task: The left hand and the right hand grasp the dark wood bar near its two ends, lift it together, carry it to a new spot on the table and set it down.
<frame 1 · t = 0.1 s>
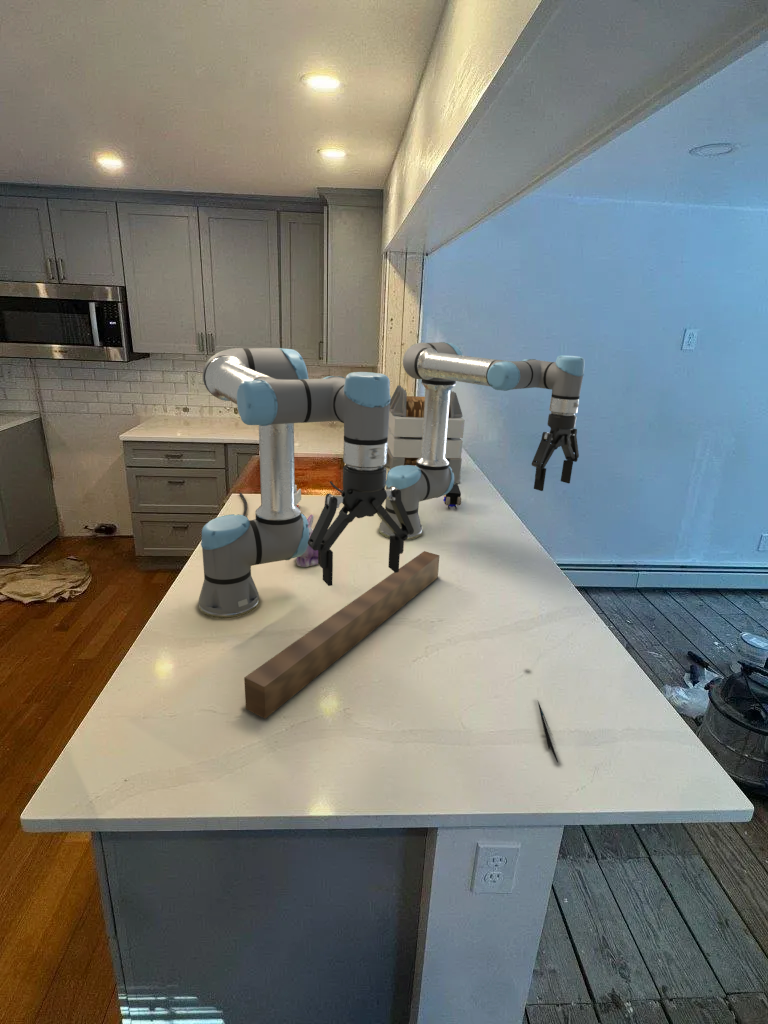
left hand: (361, 576, 105), 28 cm above the counter, tool pointing down, fingers open, 13 cm apart
right hand: (552, 486, 166), 28 cm above the counter, tool pointing down, fingers open, 13 cm apart
figurine character: (451, 505, 231), on the counter
feather: (540, 713, 113), on the counter
bar: (361, 629, 140), on the counter
figurine: (309, 561, 175), on the counter
fossil: (360, 455, 304), on the counter
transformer: (419, 473, 275), on the counter
toy: (282, 516, 211), on the counter
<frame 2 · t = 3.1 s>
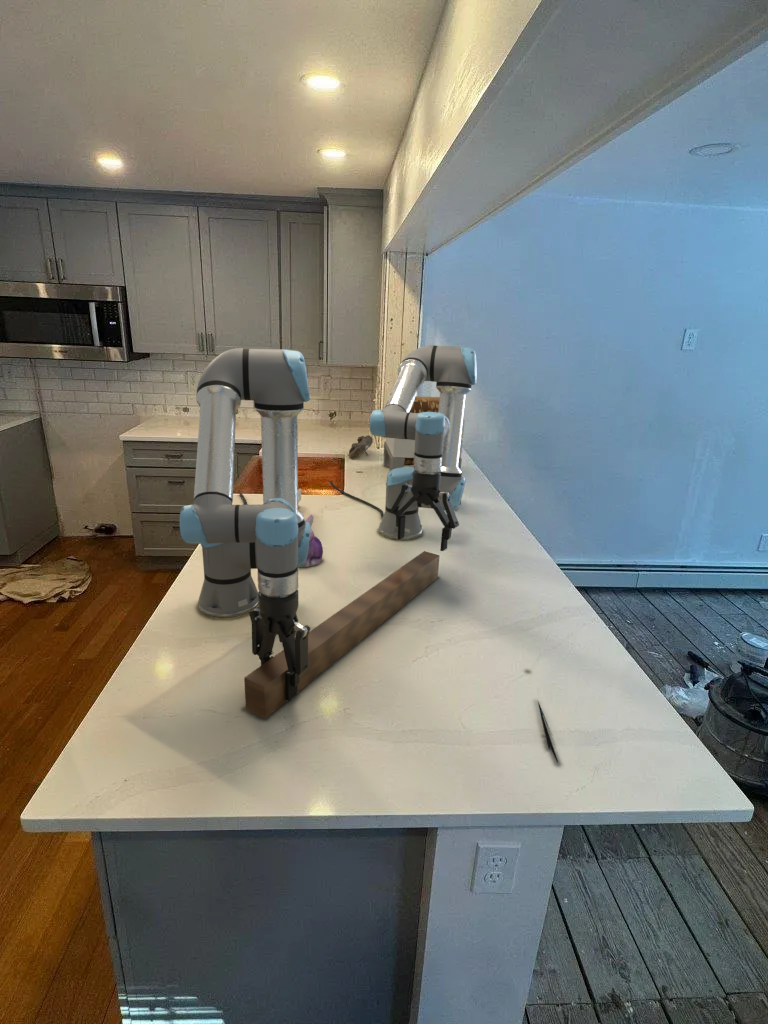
left hand: (280, 691, 115), 1 cm above the counter, tool pointing down, fingers closed on bar, 5 cm apart
right hand: (421, 543, 159), 13 cm above the counter, tool pointing down, fingers open, 13 cm apart
bar: (361, 629, 140), on the counter, touching left hand
everything else where it was.
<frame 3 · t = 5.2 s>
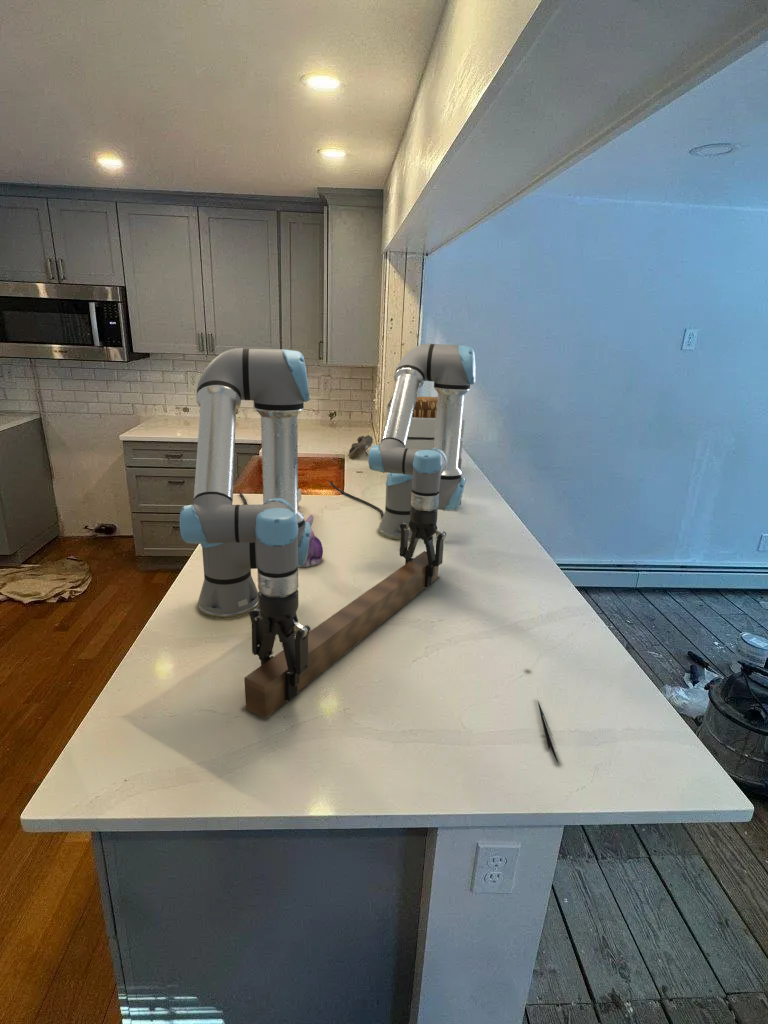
left hand: (280, 691, 115), 1 cm above the counter, tool pointing down, fingers closed on bar, 5 cm apart
right hand: (418, 582, 164), 1 cm above the counter, tool pointing down, fingers closed on bar, 5 cm apart
bar: (361, 629, 140), on the counter, touching right hand, left hand
everything else where it was.
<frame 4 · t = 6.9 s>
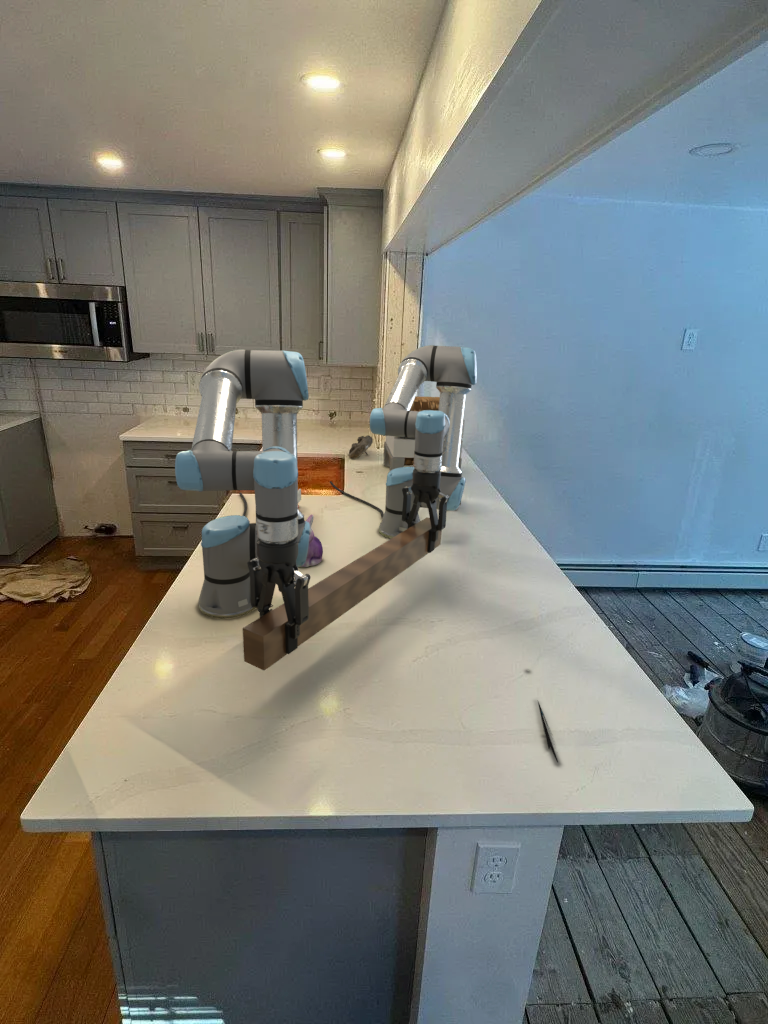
left hand: (280, 645, 112), 11 cm above the counter, tool pointing down, fingers closed on bar, 5 cm apart
right hand: (421, 548, 160), 11 cm above the counter, tool pointing down, fingers closed on bar, 5 cm apart
bar: (363, 590, 136), point 11 cm above the counter, touching right hand, left hand
everything else where it was.
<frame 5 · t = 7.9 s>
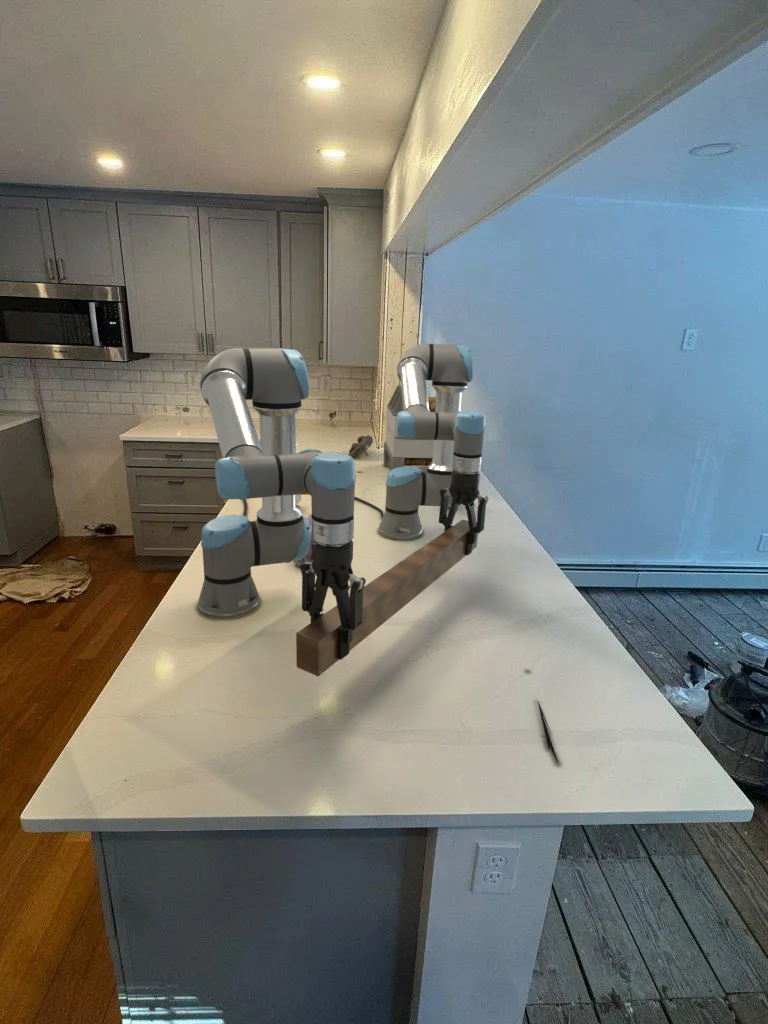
left hand: (331, 650, 110), 12 cm above the counter, tool pointing down, fingers closed on bar, 5 cm apart
right hand: (458, 550, 158), 12 cm above the counter, tool pointing down, fingers closed on bar, 5 cm apart
bar: (406, 594, 134), point 11 cm above the counter, touching right hand, left hand
everything else where it was.
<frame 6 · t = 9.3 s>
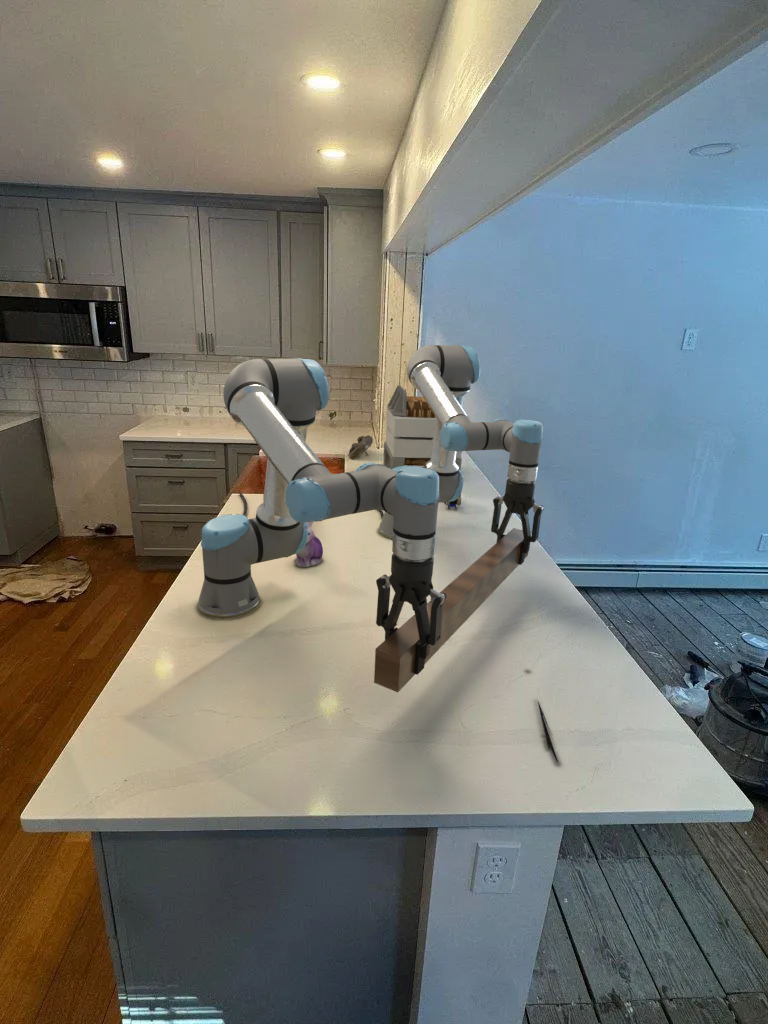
left hand: (405, 665, 109), 11 cm above the counter, tool pointing down, fingers closed on bar, 5 cm apart
right hand: (510, 559, 157), 11 cm above the counter, tool pointing down, fingers closed on bar, 5 cm apart
bar: (467, 605, 133), point 10 cm above the counter, touching right hand, left hand
everything else where it was.
when the left hand's fingers open (2 cm above the counter, at t = 10.5 s): bar drops 1 cm, on the counter.
when the right hand's fingers open (2 cm above the counter, at t = 10.5 s): bar drops 1 cm, on the counter.
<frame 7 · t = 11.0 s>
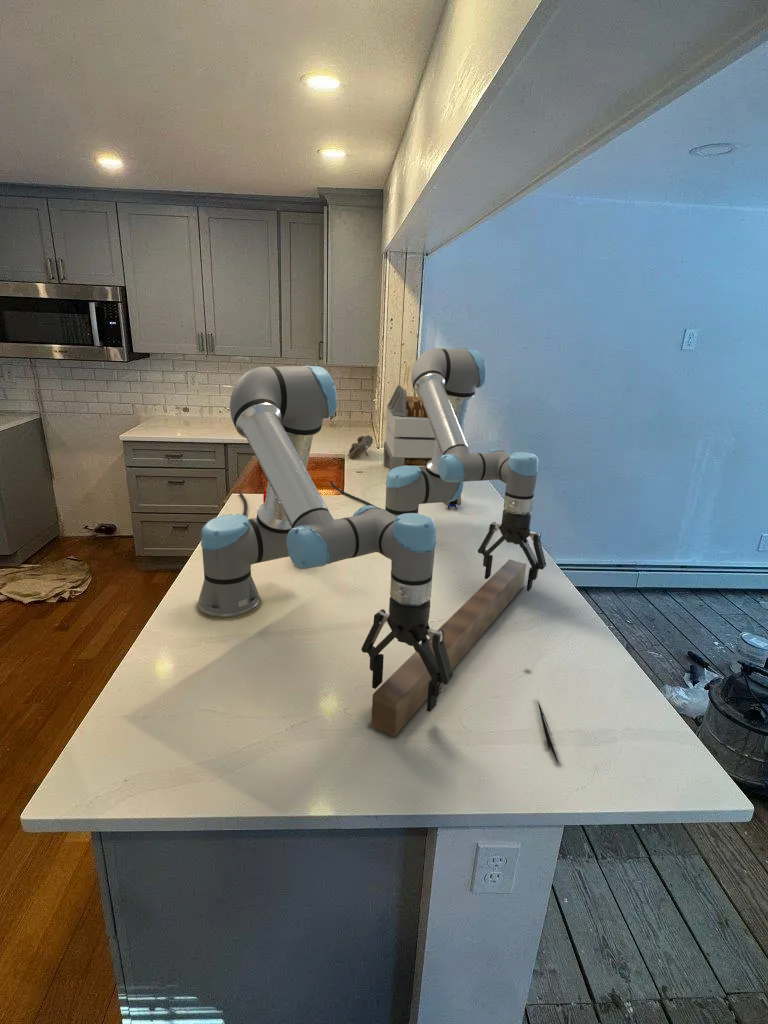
left hand: (403, 696, 111), 3 cm above the counter, tool pointing down, fingers open, 11 cm apart
right hand: (507, 583, 160), 3 cm above the counter, tool pointing down, fingers open, 11 cm apart
bar: (463, 641, 137), on the counter
everything else where it was.
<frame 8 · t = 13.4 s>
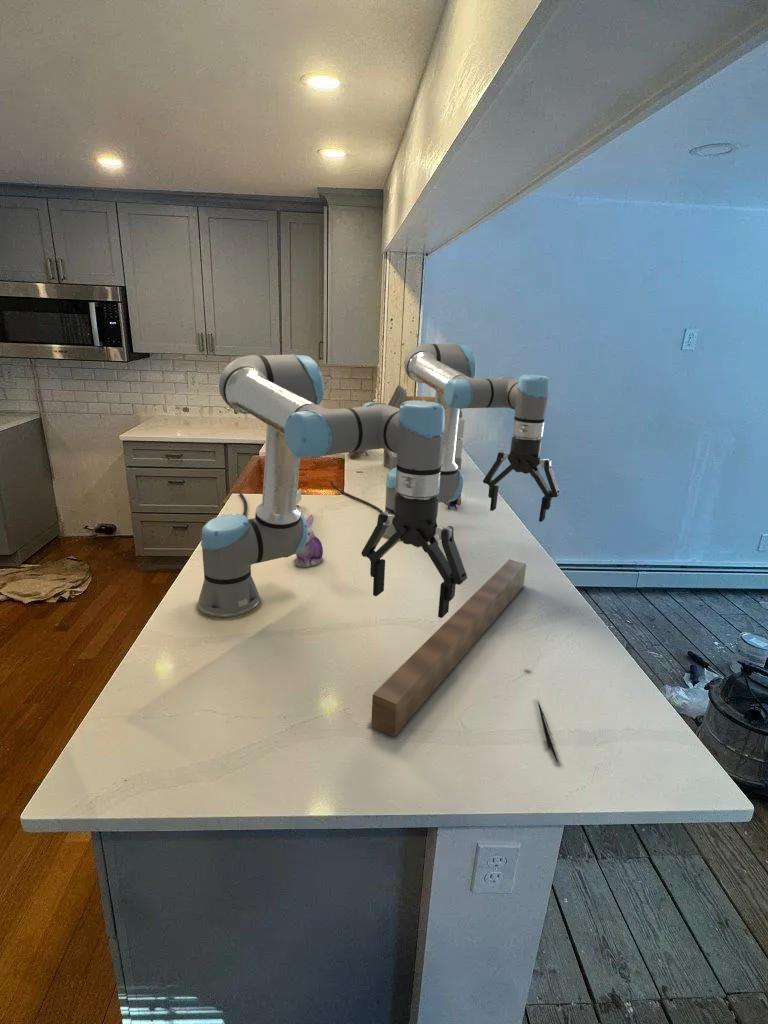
left hand: (409, 603, 104), 24 cm above the counter, tool pointing down, fingers open, 13 cm apart
right hand: (516, 514, 153), 24 cm above the counter, tool pointing down, fingers open, 13 cm apart
nothing on the counter moved.
at the end: bar inside the target area (0.1 cm from its centre), on the counter; bar tilted 0°; bar never tilted more than 1° during the clip; both hands held the bar at the same time; the left hand is holding nothing; the right hand is holding nothing; bar at rest at the end (0.0 cm/s) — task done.
